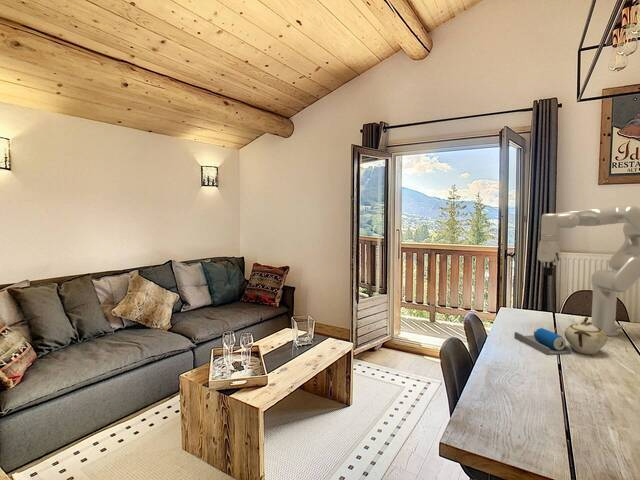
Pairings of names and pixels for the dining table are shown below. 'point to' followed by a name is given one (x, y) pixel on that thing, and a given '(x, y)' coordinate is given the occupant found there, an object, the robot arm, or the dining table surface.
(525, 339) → the tray
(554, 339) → the beverage can
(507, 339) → the dining table surface
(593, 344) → the sugar bowl
